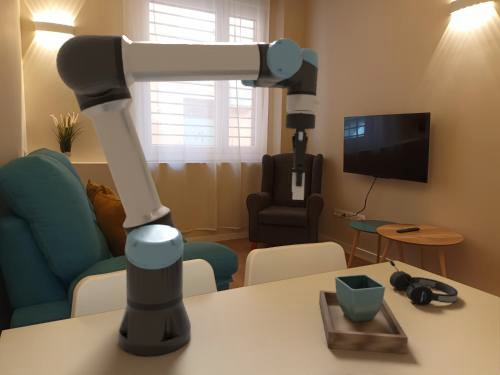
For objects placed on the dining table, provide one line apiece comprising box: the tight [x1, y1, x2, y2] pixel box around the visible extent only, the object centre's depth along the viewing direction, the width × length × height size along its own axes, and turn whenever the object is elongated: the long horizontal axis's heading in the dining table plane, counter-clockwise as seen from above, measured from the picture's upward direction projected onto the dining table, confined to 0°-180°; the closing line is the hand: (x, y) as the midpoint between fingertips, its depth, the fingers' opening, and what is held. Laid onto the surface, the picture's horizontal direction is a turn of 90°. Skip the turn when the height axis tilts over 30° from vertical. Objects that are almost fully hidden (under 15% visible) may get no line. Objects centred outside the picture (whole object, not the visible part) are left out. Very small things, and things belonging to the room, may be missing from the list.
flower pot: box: [334, 274, 386, 322], centre depth 90 cm, size 9×9×9 cm
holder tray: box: [318, 289, 409, 355], centre depth 88 cm, size 16×22×4 cm
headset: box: [389, 260, 459, 306], centre depth 106 cm, size 14×10×20 cm
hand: (297, 195), depth 98 cm, fingers open, 13 cm apart
